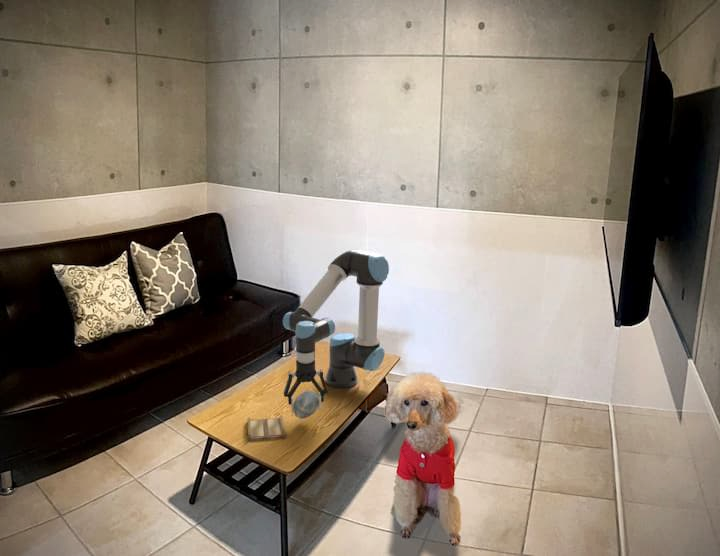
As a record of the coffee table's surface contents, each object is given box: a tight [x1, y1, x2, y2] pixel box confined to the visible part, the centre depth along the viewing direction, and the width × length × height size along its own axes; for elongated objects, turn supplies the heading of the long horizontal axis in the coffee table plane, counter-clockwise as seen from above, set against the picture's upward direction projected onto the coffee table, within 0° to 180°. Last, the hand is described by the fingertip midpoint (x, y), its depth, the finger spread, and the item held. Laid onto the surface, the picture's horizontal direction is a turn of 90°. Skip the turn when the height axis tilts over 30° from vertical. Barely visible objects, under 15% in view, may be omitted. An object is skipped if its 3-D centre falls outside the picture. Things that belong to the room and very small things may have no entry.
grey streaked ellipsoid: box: [293, 390, 319, 420], centre depth 248 cm, size 14×10×10 cm
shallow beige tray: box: [246, 414, 286, 442], centre depth 244 cm, size 14×15×2 cm
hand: (306, 409), depth 248 cm, fingers closed on grey streaked ellipsoid, 10 cm apart
